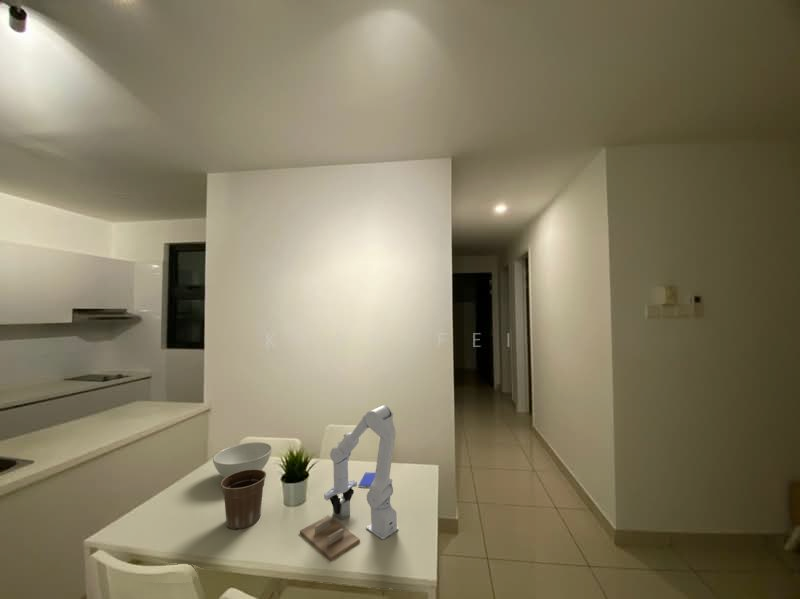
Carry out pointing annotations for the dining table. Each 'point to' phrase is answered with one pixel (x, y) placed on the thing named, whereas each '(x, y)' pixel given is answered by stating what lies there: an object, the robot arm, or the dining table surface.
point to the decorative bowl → (242, 458)
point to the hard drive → (367, 480)
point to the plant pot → (243, 497)
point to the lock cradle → (329, 537)
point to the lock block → (343, 507)
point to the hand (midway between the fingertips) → (341, 510)
